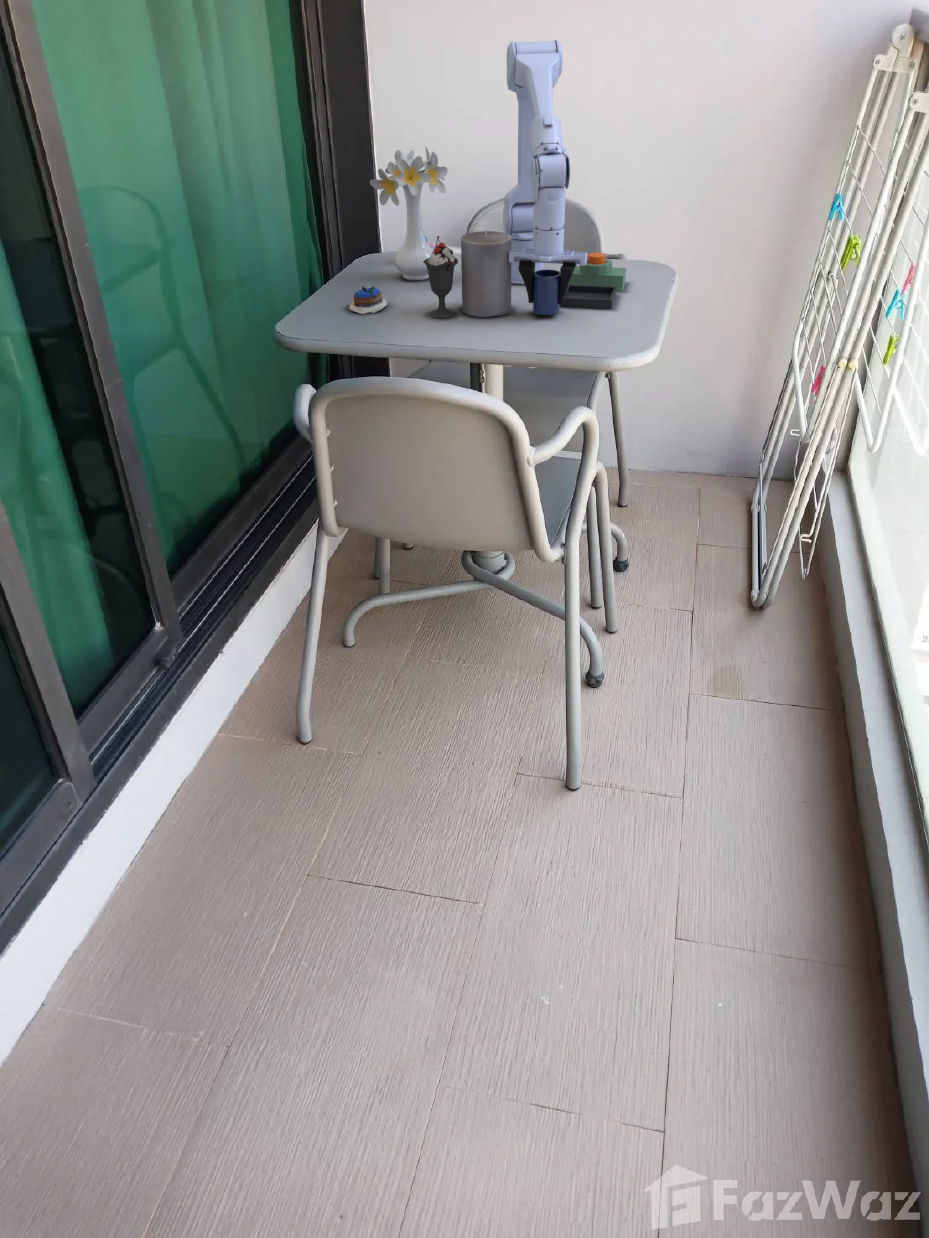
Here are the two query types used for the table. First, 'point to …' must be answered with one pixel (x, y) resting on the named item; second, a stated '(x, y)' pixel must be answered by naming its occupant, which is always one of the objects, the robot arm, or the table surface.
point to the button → (596, 258)
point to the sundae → (441, 276)
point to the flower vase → (411, 206)
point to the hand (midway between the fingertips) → (546, 302)
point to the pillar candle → (486, 273)
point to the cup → (546, 292)
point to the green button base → (599, 275)
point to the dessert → (368, 301)
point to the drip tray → (590, 297)
